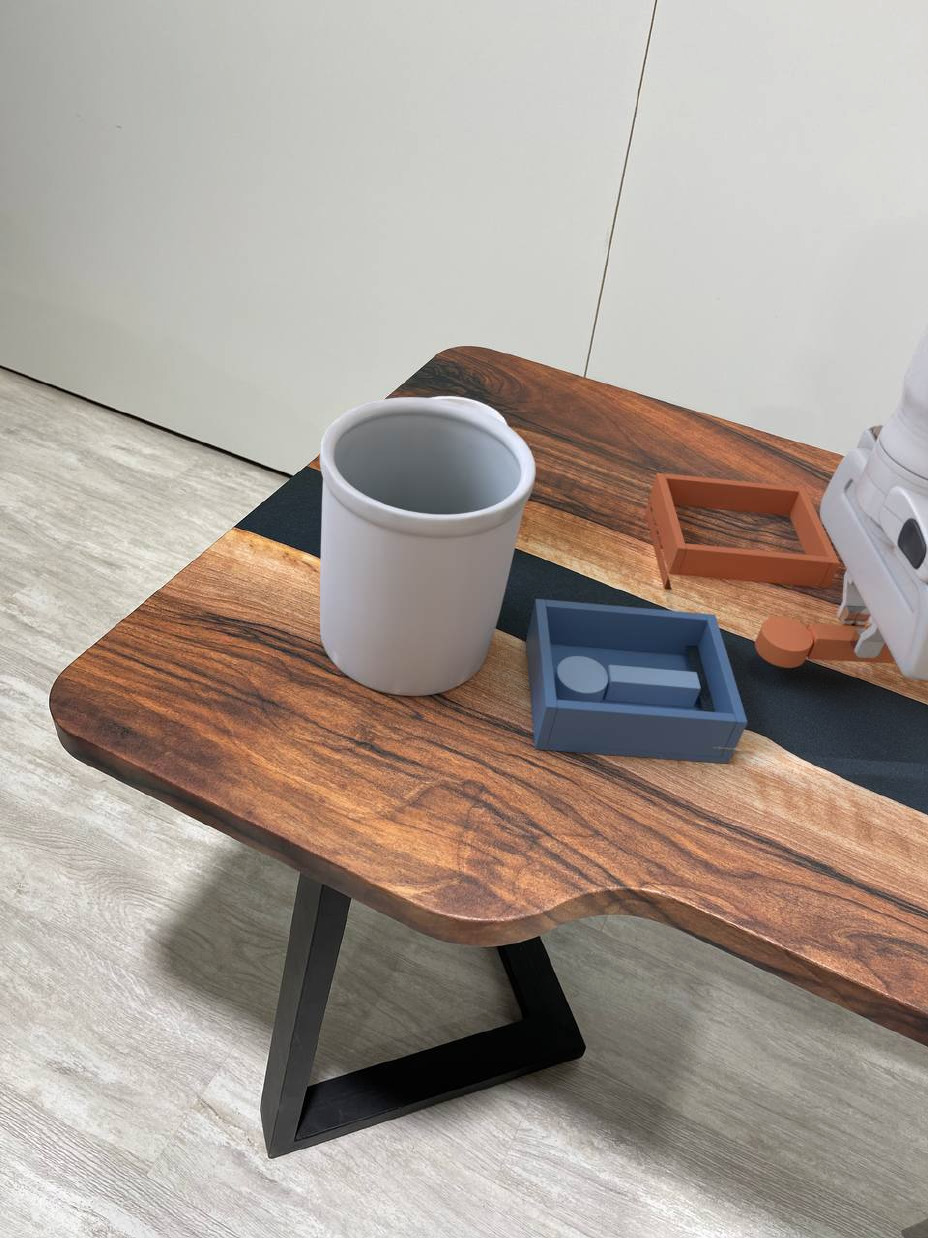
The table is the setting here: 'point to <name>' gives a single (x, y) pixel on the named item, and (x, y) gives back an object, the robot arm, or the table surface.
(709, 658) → the bin blue
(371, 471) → the utensil holder
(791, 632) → the spoon terracotta
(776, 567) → the bin terracotta
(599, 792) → the table surface
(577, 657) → the spoon blue
